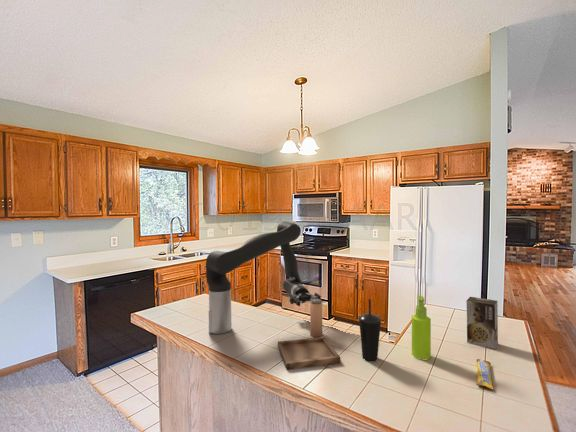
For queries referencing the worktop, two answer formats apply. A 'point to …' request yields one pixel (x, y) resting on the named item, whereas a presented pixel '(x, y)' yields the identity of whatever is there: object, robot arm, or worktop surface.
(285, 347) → the tray
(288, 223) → the robot arm
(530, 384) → the worktop surface
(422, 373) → the worktop surface
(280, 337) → the worktop surface
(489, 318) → the coffee box
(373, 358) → the drinking cup
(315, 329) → the tan cylinder
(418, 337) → the soap dispenser
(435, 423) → the worktop surface
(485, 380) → the candy bar
